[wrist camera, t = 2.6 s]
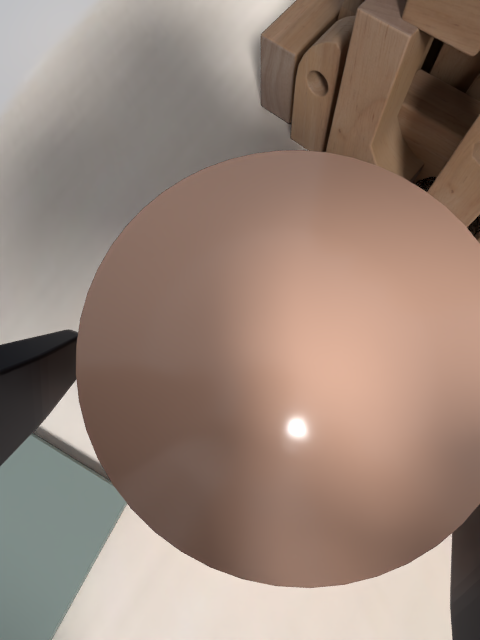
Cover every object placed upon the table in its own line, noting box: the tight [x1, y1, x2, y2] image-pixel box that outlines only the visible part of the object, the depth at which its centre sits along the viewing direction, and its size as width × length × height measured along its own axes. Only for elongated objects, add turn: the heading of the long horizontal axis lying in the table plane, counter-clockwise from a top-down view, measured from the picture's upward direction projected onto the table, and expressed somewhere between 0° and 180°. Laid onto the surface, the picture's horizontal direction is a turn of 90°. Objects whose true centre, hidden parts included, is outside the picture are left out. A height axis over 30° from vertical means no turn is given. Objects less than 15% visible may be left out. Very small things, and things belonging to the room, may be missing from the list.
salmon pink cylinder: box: [76, 150, 480, 588], centre depth 12 cm, size 8×8×11 cm
